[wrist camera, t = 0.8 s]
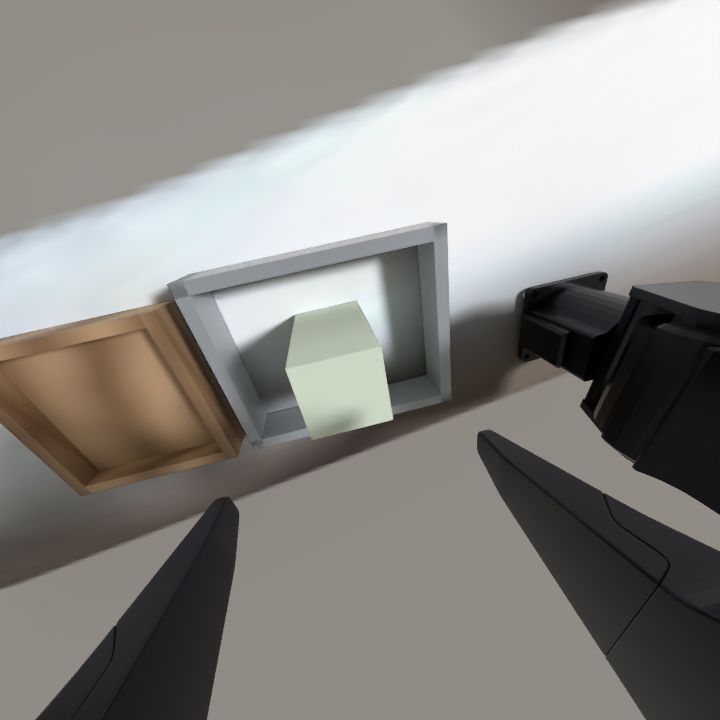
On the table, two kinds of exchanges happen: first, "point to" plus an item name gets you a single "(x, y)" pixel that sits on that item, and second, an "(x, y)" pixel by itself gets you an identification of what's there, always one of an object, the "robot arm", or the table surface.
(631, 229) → the table surface
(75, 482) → the wooden tray
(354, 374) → the sage block
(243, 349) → the table surface
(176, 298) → the grey bin
